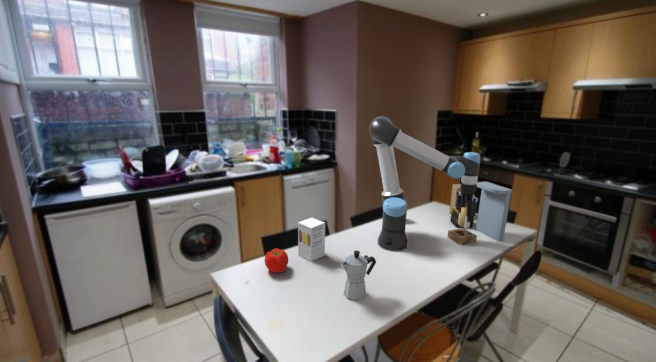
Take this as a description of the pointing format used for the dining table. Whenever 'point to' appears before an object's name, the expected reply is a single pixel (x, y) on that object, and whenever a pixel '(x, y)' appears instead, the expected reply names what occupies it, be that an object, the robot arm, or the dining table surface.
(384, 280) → the dining table surface
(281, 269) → the tomato
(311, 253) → the supplement box
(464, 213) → the peg
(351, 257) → the coffee maker
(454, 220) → the yellow black tissue box
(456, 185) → the wooden block
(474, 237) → the socket block
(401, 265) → the dining table surface
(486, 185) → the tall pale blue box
